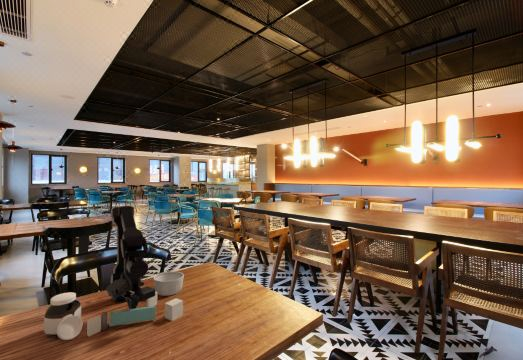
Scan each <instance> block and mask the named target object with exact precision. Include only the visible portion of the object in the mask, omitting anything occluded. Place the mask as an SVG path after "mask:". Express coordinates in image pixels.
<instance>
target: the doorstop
mask: <svg viewBox="0 0 523 360" xmlns="http://www.w3.org/2000/svg"><path fill="white" fill-rule="evenodd" d="M182 316H184V300H183V299H180V298H177V297H176V298H173V299H170V300H169V301H167V302H165V303H164V318H165V319H167V320H168V321H171V322H173V321H175V320H177V319H178V318H180V317H182Z"/></svg>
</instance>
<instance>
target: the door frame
mask: <svg viewBox="0 0 523 360" xmlns="http://www.w3.org/2000/svg"><path fill="white" fill-rule="evenodd" d="M156 305H158V294H157V292H156V291H155V296H154V297H151V298H149V299H147V300H146V307H149V306H155V307H156ZM86 326H87V327H86V332H87V333H86V335H87V336H88V337H91V336H93V335H96V334H98V333H100V332H101V331H104V330H107V328H108V326H109V327H111V328H112V327H113V326H110V322H109V323H108V312H107V311H104V312H101V313H100V315H96V316H94V317H92V318H90V319H89V318H88V319H87V320H86Z"/></svg>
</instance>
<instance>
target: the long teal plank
mask: <svg viewBox="0 0 523 360" xmlns="http://www.w3.org/2000/svg"><path fill="white" fill-rule="evenodd" d="M155 319H156V305H155V306H149V307H147V306H144V307H138V308H137V307H136V309H129V308H128V309H124V310H122V309H121V310H115V311H110V312H109V323H110V326H109V327H111V326H112V327H115V326H119V325H121V326H122V325H125V324H133V323H138V322H145V321H152V320H155Z"/></svg>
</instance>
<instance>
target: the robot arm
mask: <svg viewBox="0 0 523 360" xmlns="http://www.w3.org/2000/svg"><path fill="white" fill-rule="evenodd" d="M134 216H135V207H134V206H131V205H121V206H114V207H113V208H111V209H110V218H111V219H112V223H113V224H114V226H115V227H116V251H117V253H116V255H117V259H116V264H115V265H114V267H113V270H112V271H113V272H112V273H111V277H110V284H109V285H107V286H106V287H105V290H106V292H107V295H108V297H111V298H110V300H111V301H113V302H115V303H116V304H122V303H125V302H126V303H127V308H128V310H129V309H136V308H137V307H138V305H139V303H140V302H141V303H142V302H144V301H147V299H149V298H151V297H154V296H155V287H152V286H148V285H146V286H144V285H145V283H144V281H142V278H143V277H145V275H147V273H148V271H149V265H148V263H147V262H146V261H145V260H144V256H145V255H148V251H149V247H148V246H149V245H148V241H147V239H146V237H145V236H144V234H143V231H142V230H140V229H139V228H137V225H136V221H135V220H136V219H135V217H134ZM142 286H144V287H142Z"/></svg>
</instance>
